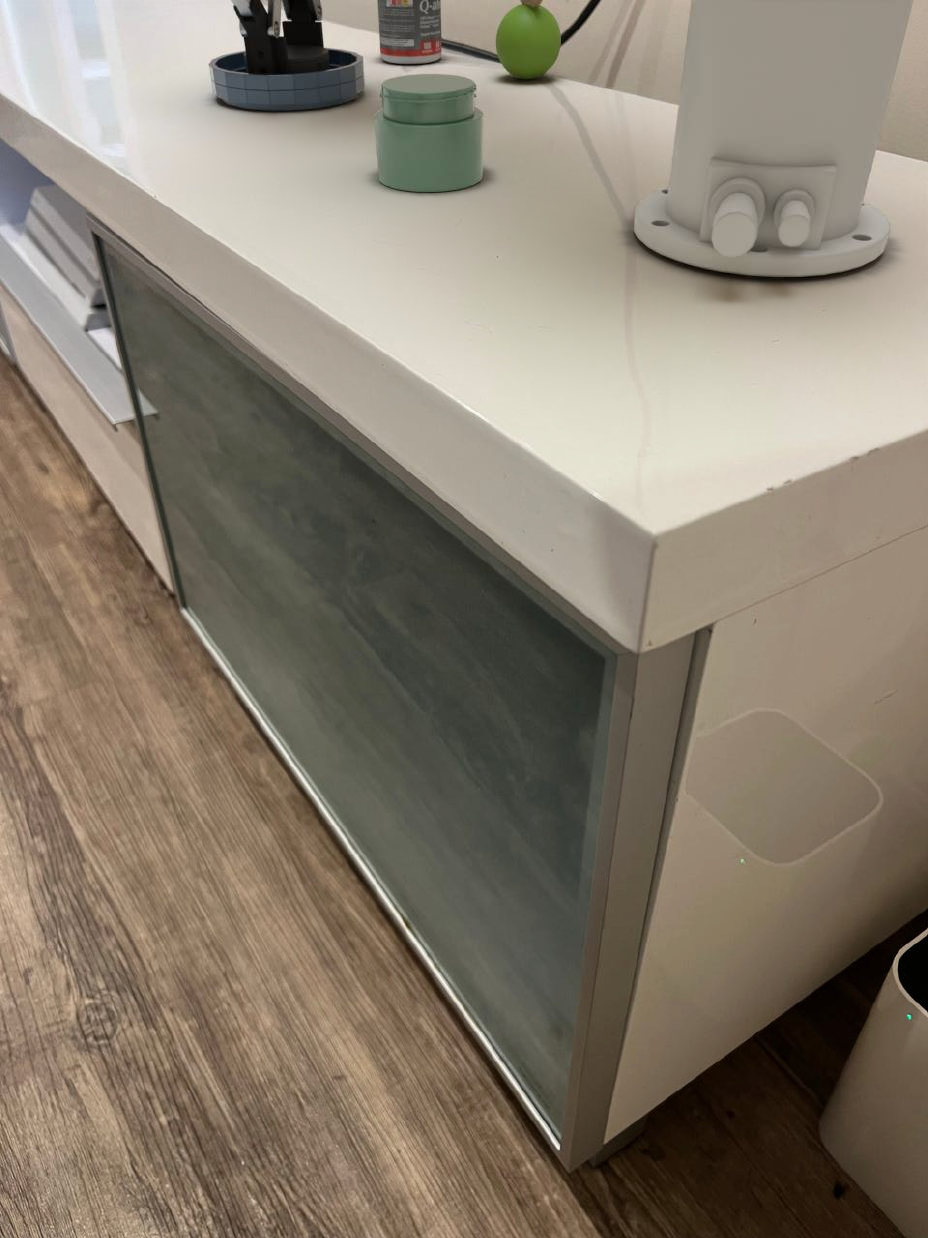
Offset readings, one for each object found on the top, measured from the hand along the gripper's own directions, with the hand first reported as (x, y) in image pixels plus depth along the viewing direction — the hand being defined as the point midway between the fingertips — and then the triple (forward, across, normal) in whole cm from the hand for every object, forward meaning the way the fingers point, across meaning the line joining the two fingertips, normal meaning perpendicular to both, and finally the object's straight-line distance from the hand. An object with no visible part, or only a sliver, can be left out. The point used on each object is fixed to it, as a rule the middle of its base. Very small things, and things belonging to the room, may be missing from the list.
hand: (290, 84), depth 76 cm
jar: (+1, +20, +17) cm, 26 cm away
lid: (-2, 0, 0) cm, 2 cm away
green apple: (+1, -11, +17) cm, 20 cm away
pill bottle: (+1, -17, +5) cm, 18 cm away
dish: (+1, 0, 0) cm, 1 cm away
